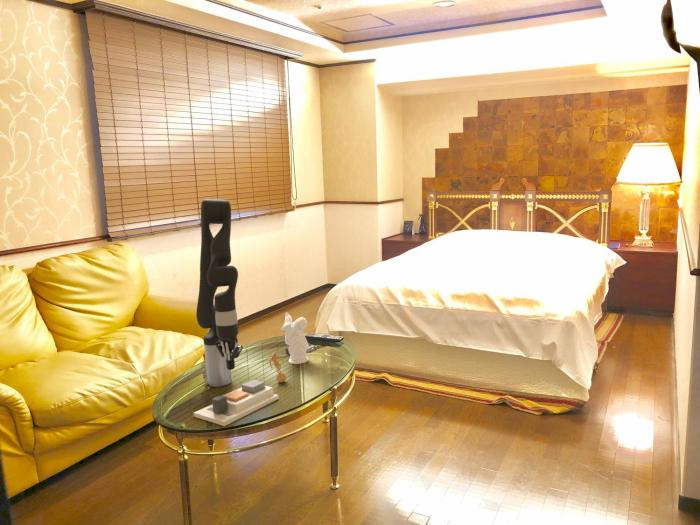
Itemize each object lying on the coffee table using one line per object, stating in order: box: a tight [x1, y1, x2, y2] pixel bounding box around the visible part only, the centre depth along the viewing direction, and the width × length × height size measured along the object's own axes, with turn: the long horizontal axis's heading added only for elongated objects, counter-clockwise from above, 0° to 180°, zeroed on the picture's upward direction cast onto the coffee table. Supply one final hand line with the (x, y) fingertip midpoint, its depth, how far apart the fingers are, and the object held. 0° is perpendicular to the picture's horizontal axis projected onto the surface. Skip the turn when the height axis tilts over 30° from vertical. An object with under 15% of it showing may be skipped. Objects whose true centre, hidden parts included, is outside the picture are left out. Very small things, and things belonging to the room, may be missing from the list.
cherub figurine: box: [280, 311, 310, 365], centre depth 251 cm, size 12×12×22 cm
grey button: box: [241, 379, 266, 394], centre depth 213 cm, size 6×6×3 cm
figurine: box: [268, 352, 287, 384], centre depth 229 cm, size 8×6×12 cm
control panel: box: [193, 385, 279, 427], centre depth 207 cm, size 16×26×4 cm, turn 143°
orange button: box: [224, 389, 248, 402], centre depth 207 cm, size 6×6×3 cm
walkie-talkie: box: [285, 342, 320, 356], centre depth 270 cm, size 9×4×20 cm
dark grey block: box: [211, 394, 228, 414], centre depth 200 cm, size 3×4×5 cm
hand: (230, 369), depth 205 cm, fingers closed
